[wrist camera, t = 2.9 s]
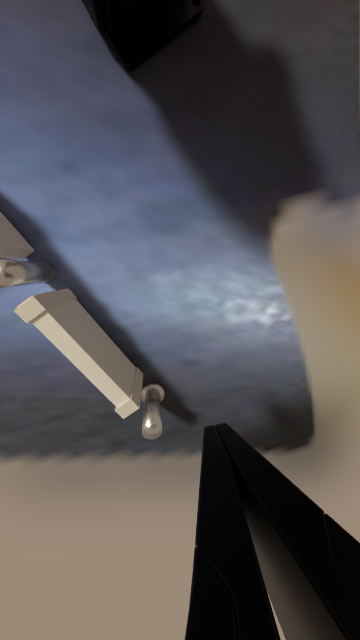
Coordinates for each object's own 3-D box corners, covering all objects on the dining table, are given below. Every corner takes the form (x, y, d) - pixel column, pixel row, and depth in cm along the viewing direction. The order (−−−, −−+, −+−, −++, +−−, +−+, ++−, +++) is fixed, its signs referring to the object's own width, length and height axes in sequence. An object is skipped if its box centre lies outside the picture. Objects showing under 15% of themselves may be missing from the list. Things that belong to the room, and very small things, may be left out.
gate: (53, 297, 16) (12, 308, 11) (67, 287, 16) (31, 294, 11) (131, 383, 19) (124, 419, 14) (144, 374, 19) (140, 409, 14)
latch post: (155, 378, 20) (155, 413, 15) (168, 393, 20) (172, 432, 15) (136, 391, 20) (130, 430, 15) (150, 406, 20) (148, 448, 16)
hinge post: (46, 258, 15) (-3, 253, 11) (60, 274, 16) (19, 276, 11) (31, 269, 16) (-25, 269, 11) (45, 285, 16) (-2, 292, 11)
